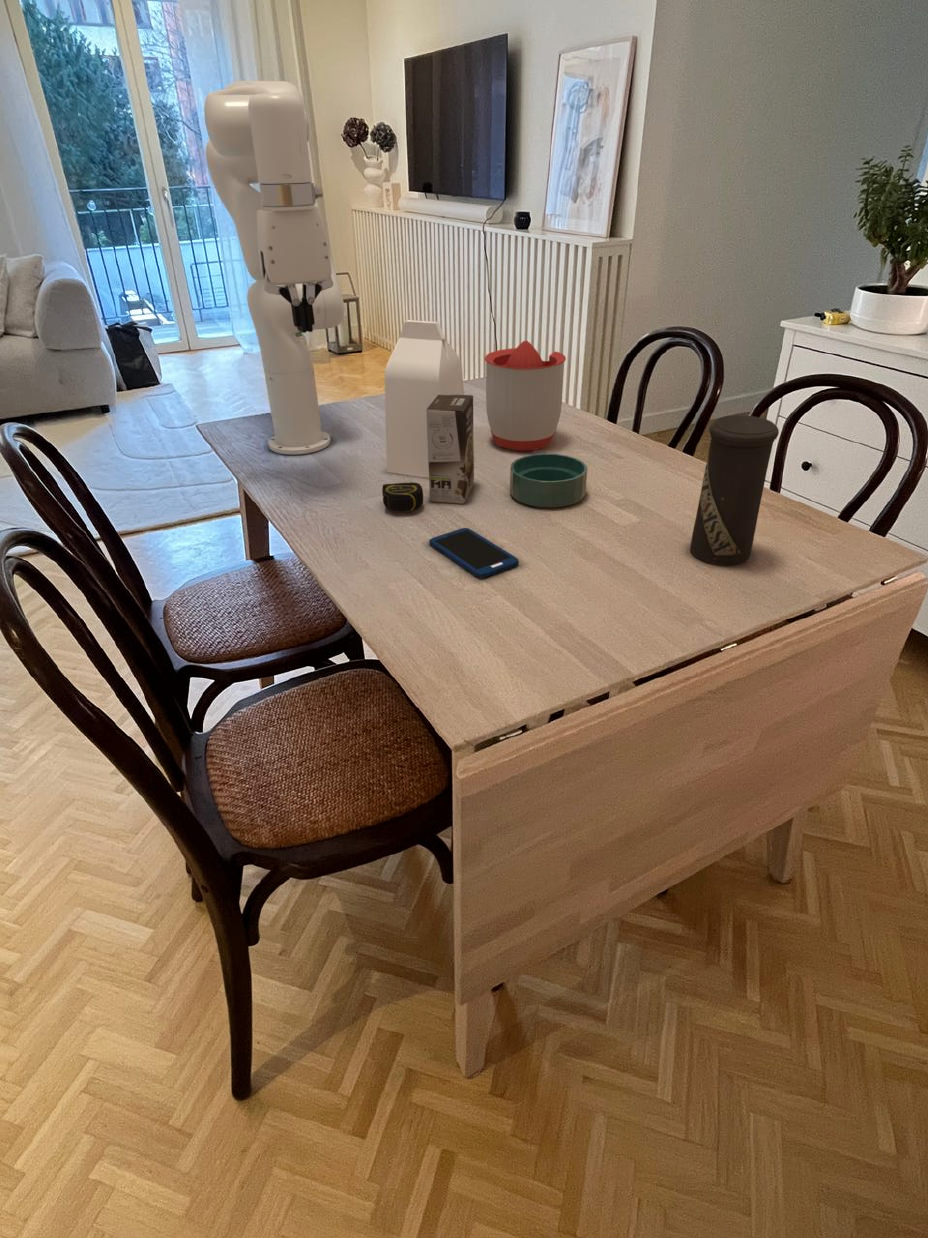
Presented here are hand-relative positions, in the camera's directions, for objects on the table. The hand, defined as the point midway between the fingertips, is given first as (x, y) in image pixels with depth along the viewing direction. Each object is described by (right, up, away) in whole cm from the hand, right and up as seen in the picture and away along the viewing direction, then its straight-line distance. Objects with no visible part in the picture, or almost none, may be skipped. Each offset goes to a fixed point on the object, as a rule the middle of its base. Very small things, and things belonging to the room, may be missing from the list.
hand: (305, 330), depth 116 cm
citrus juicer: (+38, -9, +34) cm, 52 cm away
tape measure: (+15, -27, +8) cm, 32 cm away
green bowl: (+40, -24, +11) cm, 48 cm away
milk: (+19, -17, +24) cm, 34 cm away
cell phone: (+27, -36, -7) cm, 46 cm away
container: (+63, -36, -8) cm, 74 cm away
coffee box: (+23, -24, +13) cm, 36 cm away
